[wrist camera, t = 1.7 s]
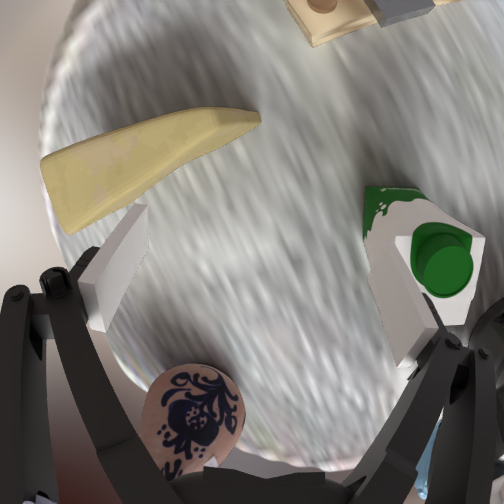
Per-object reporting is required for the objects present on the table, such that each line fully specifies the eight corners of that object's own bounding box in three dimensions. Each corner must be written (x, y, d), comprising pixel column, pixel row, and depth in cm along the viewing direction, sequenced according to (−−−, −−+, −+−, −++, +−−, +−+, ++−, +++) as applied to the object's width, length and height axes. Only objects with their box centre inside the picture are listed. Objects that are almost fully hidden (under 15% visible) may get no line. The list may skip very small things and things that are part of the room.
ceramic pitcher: (267, 372, 51) (231, 503, 29) (232, 427, 60) (199, 525, 38) (173, 332, 52) (99, 445, 29) (158, 396, 61) (107, 486, 39)
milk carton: (425, 181, 34) (506, 240, 16) (419, 249, 37) (475, 346, 19) (357, 178, 36) (393, 238, 18) (356, 248, 39) (376, 352, 21)
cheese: (248, 80, 34) (205, 58, 20) (273, 154, 37) (245, 174, 23) (108, 143, 40) (32, 161, 27) (130, 203, 44) (61, 240, 30)
